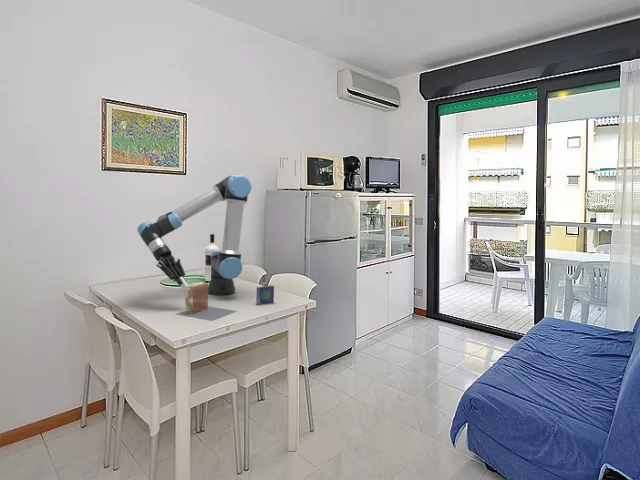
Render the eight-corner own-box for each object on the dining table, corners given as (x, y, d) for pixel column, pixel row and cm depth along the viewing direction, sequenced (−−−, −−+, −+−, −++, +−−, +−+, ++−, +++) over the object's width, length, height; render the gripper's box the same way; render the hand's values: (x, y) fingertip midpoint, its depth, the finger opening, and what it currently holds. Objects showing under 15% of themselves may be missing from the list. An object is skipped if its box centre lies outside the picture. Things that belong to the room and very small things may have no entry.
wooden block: (185, 312, 175) (185, 286, 174) (200, 307, 184) (201, 282, 183) (192, 314, 174) (193, 287, 173) (208, 308, 183) (208, 283, 182)
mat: (175, 315, 172) (175, 314, 172) (203, 306, 189) (203, 305, 189) (211, 322, 164) (211, 320, 164) (237, 312, 181) (237, 311, 181)
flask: (257, 305, 195) (257, 283, 194) (255, 303, 197) (255, 282, 196) (274, 303, 199) (274, 282, 198) (272, 302, 202) (272, 281, 201)
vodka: (215, 283, 245) (216, 235, 243) (201, 282, 246) (201, 234, 244) (221, 280, 254) (222, 234, 252) (207, 279, 256) (208, 233, 253)
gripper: (166, 254, 193) (192, 291, 187) (144, 256, 181) (171, 297, 175) (174, 244, 190) (201, 282, 184) (153, 246, 178) (180, 287, 173)
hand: (186, 289), depth 180 cm, fingers closed
